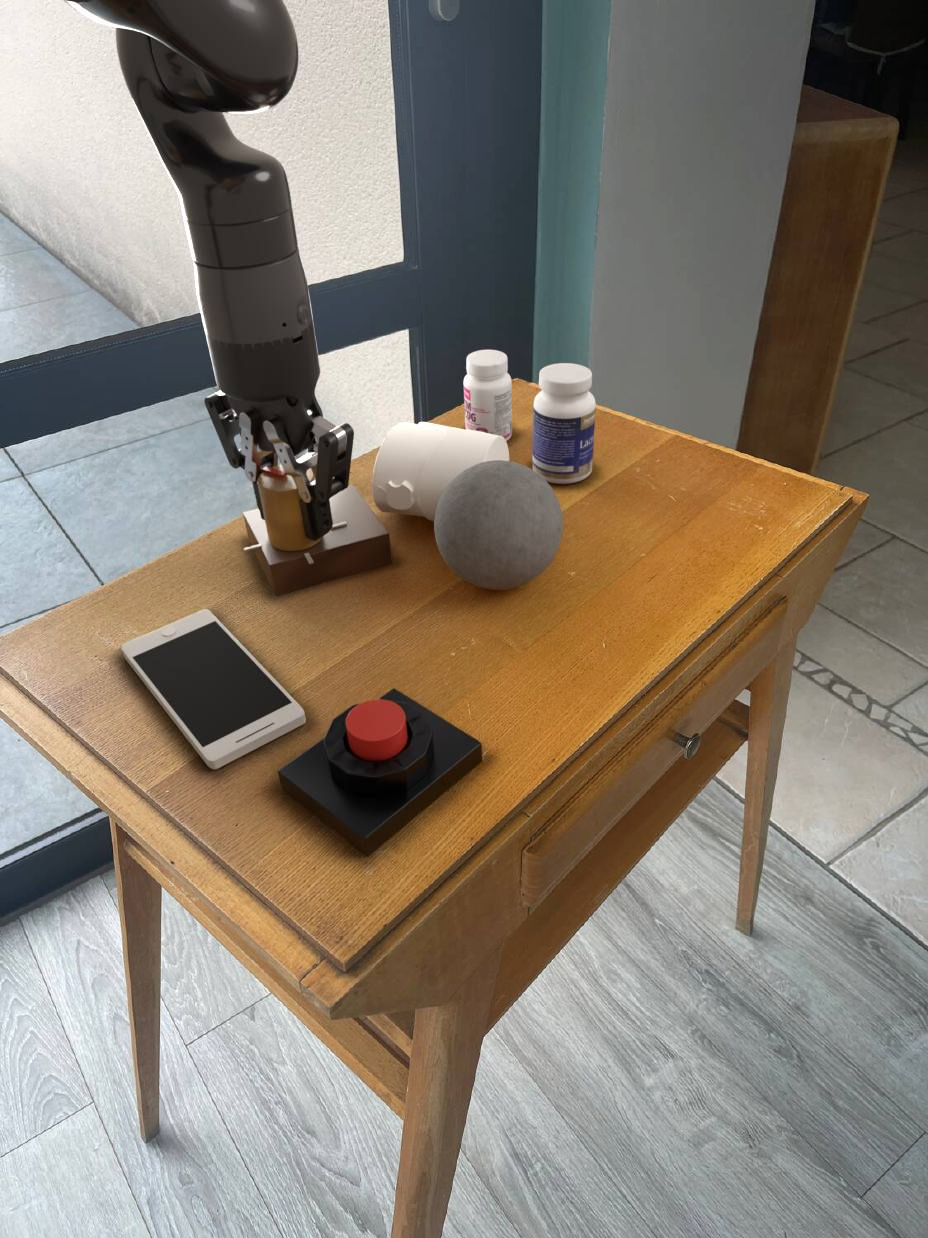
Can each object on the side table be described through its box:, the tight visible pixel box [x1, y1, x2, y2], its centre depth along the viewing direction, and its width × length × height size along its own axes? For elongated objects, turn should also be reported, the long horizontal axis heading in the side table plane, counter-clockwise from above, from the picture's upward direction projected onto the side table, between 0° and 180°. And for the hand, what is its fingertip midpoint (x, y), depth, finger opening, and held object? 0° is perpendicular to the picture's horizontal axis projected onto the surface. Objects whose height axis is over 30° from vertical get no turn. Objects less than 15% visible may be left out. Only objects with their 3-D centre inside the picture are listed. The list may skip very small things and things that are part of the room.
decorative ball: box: [433, 460, 564, 591], centre depth 73 cm, size 10×10×10 cm
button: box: [346, 698, 408, 761], centre depth 57 cm, size 4×4×2 cm
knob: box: [257, 464, 322, 551], centre depth 74 cm, size 4×4×6 cm
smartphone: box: [120, 608, 307, 771], centre depth 66 cm, size 7×15×1 cm, turn 38°
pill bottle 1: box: [463, 349, 513, 442], centre depth 93 cm, size 5×5×8 cm
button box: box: [277, 687, 483, 858], centre depth 58 cm, size 10×8×4 cm
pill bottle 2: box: [531, 362, 597, 485], centre depth 86 cm, size 6×6×10 cm
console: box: [242, 484, 393, 596], centre depth 78 cm, size 11×10×3 cm
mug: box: [371, 421, 510, 522], centre depth 82 cm, size 12×9×8 cm
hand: (296, 525), depth 76 cm, fingers closed on knob, 4 cm apart
